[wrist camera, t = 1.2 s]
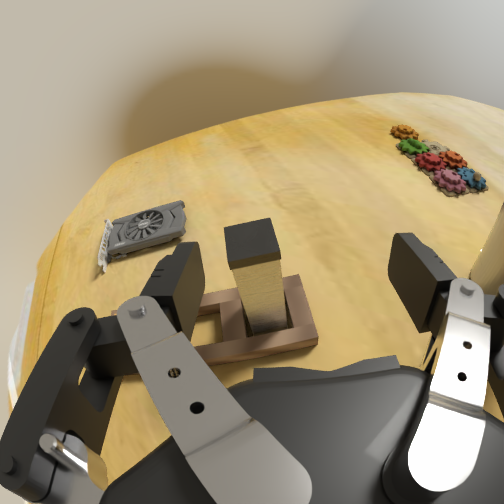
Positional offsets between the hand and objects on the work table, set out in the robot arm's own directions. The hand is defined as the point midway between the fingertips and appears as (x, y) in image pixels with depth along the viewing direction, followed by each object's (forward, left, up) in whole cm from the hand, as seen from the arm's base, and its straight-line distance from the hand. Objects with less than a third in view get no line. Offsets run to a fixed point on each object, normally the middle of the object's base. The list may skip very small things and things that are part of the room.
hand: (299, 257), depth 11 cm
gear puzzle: (-60, +3, -23) cm, 64 cm away
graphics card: (-7, -36, -23) cm, 43 cm away
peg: (-6, -8, -22) cm, 24 cm away
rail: (0, -14, -22) cm, 26 cm away
